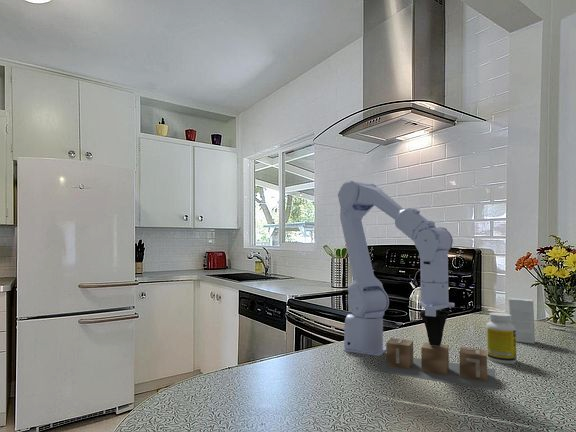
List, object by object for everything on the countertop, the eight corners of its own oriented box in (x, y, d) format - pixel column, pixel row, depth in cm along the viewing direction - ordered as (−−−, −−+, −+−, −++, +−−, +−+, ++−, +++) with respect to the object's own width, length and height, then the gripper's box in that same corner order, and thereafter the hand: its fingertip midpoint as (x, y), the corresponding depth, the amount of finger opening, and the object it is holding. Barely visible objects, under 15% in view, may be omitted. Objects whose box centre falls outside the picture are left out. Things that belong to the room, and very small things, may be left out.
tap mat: (374, 371, 82) (374, 370, 82) (389, 355, 94) (389, 353, 94) (496, 392, 71) (496, 390, 71) (495, 370, 84) (495, 369, 84)
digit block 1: (386, 365, 85) (386, 342, 86) (391, 359, 90) (391, 337, 90) (409, 369, 83) (409, 345, 83) (413, 363, 87) (413, 340, 88)
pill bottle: (520, 366, 87) (519, 317, 88) (491, 364, 89) (490, 315, 89) (510, 358, 93) (509, 312, 94) (483, 356, 95) (482, 311, 95)
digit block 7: (459, 377, 78) (459, 351, 79) (461, 370, 83) (460, 346, 83) (487, 382, 76) (486, 355, 76) (487, 374, 80) (486, 349, 81)
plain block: (421, 371, 82) (421, 347, 82) (424, 364, 86) (424, 342, 87) (446, 375, 80) (446, 350, 80) (448, 368, 84) (448, 345, 84)
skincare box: (534, 341, 110) (533, 299, 111) (535, 344, 107) (533, 301, 108) (510, 338, 114) (509, 297, 115) (509, 341, 110) (508, 299, 111)
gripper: (451, 286, 76) (452, 355, 75) (456, 280, 89) (457, 339, 88) (414, 283, 79) (415, 350, 78) (424, 278, 92) (425, 336, 91)
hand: (435, 344), depth 83 cm, fingers closed
